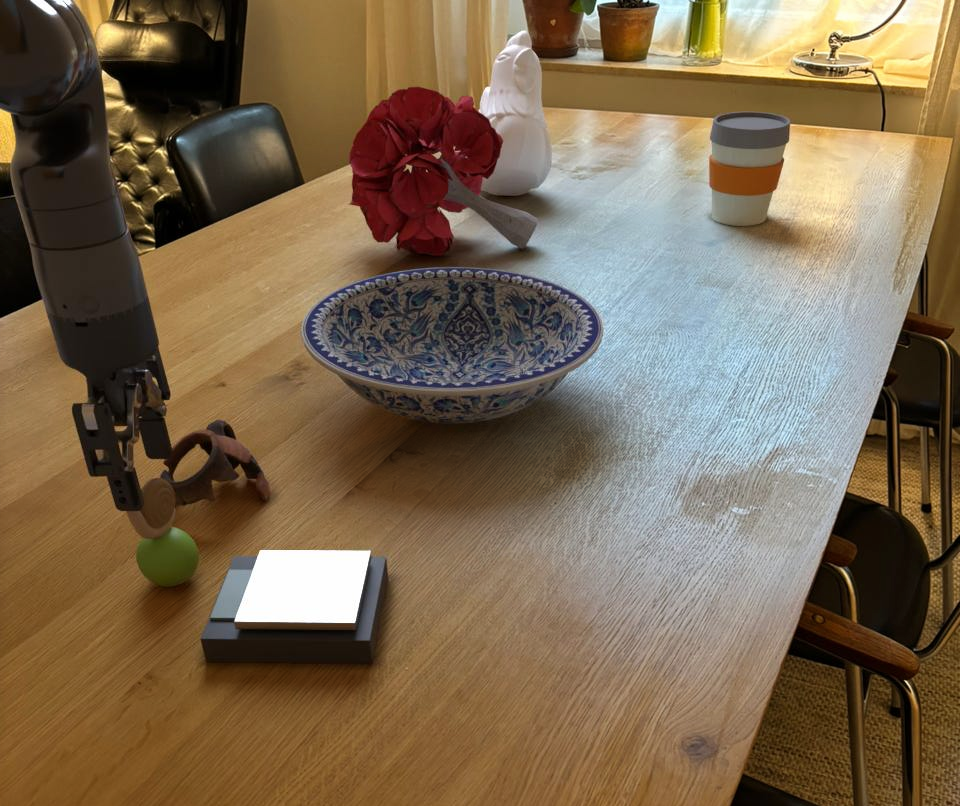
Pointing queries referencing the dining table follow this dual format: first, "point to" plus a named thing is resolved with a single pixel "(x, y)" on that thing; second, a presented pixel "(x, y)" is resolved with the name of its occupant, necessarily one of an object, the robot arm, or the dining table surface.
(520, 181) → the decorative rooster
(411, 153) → the bouquet
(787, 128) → the reusable coffee cup
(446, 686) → the dining table surface
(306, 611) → the scale platter
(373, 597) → the scale
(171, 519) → the snail figurine
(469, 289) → the ceramic bowl
